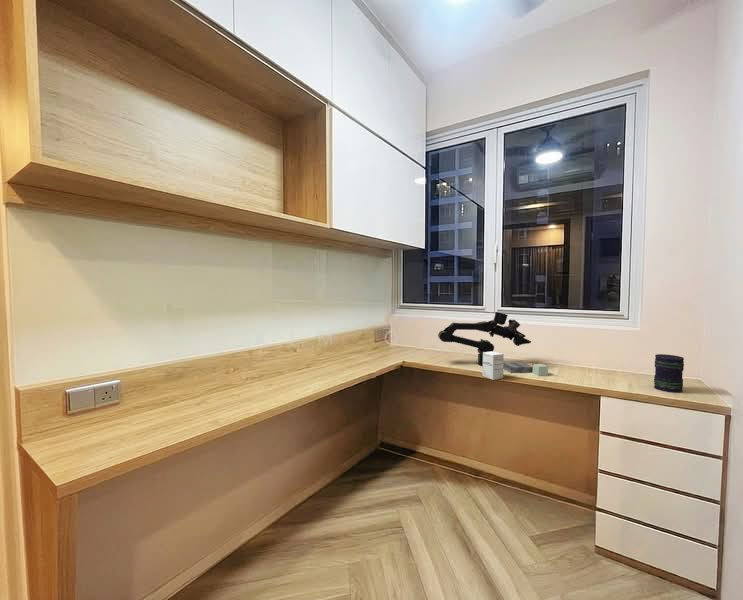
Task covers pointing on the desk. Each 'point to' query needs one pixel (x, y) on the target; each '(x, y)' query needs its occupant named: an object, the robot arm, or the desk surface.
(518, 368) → the charcoal base
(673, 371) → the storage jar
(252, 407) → the desk surface
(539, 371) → the sage cube
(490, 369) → the supplement box
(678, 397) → the desk surface
